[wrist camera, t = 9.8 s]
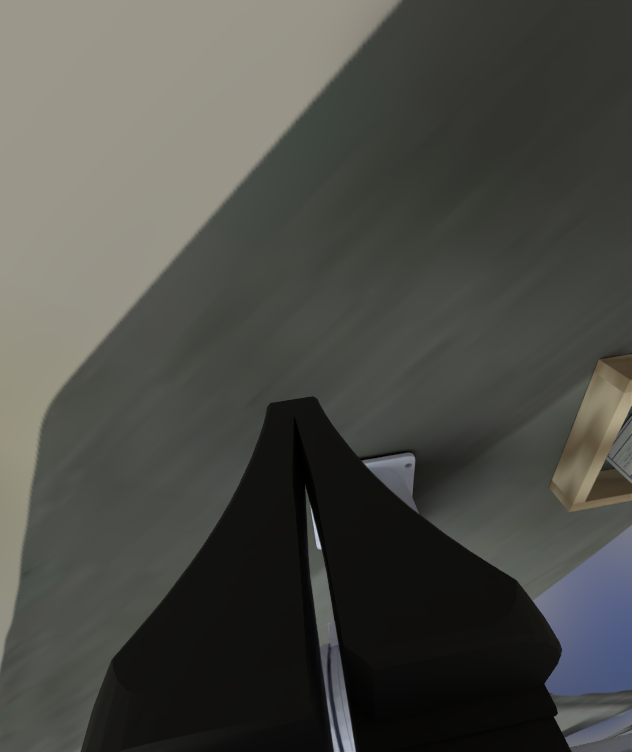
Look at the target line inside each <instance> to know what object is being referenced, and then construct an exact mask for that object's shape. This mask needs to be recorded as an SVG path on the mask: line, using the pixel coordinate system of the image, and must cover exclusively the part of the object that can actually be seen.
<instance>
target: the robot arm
mask: <svg viewBox="0 0 632 752" xmlns="http://www.w3.org/2000/svg"><path fill="white" fill-rule="evenodd" d="M408 463H409V464H408ZM414 470H415V457H414V455H413V454H412V453H403V454H397V455H391V456H385V457H380V458H374V459H368V460H362V461H361V460H360V459H359V457H358V456H357V455H356V454H355V453H354V452H353V451H352V449H351V448H350V447H349V446H348V445H347V443H346V442H345V441H344V439H343V438H342V437H341V436H340V434H339V433H338V432H337V430H336V429H335V428H334V426H333V425H332V423H331V422H330V420H329V419H328V417H327V416H326V414H325V413H324V411H323V409H322V408H321V406H320V404H319V402H318V399H317V398H315V397H314V396H312V397H306V398H300V399H293V400H287V401H281V402H274V403H270V404H269V406H268V407H267V412H266V416H265V420H264V424H263V427H262V430H261V433H260V436H259V439H258V442H257V444H256V447H255V450H254V452H253V455H252V457H251V460H250V462H249V464H248V466H247V469H246V471H245V473H244V475H243V477H242V479H241V481H240V484H239V486H238V488H237V490H236V491H235V493H234V495H233V497H232V499H231V501H230V503H229V505H228V506H227V508H226V510H225V511H224V513H223V515H222V517H221V518H220V520H219V522H218V523H217V525H216V526H215V528H214V529H213V531H212V533H211V534H210V536H209V537H208V539H207V540H206V542H205V543H204V545H203V546H202V548H201V549H200V551H199V552H198V554H197V555H196V557H195V558H194V559H193V561H192V562H191V563H190V565H189V566H188V567H187V569H186V570H185V571H184V573H183V574H182V575H181V577H180V578H179V579H178V581H177V582H176V583H175V585H174V586H173V587H172V589H171V590H170V591H169V593H168V594H167V595H166V597H165V598H164V599H163V600H162V602H161V603H160V604H159V605H158V606H157V608H156V609H155V610H154V611H153V612H152V614H151V615H150V616H149V617H148V618H147V619H146V621H145V622H144V623H143V624H142V625H141V626H140V628H139V629H138V630H137V631H136V632H135V633H134V635H133V636H132V637H131V638H130V639H129V640H128V642H127V643H126V644H125V645H124V646H123V647H122V648H121V650H120V651H119V652H118V653H117V654H116V655H115V656H114V658H113V659H112V660H111V663H110V665H109V668H108V670H107V673H106V675H105V678H104V681H103V683H102V686H101V688H100V691H99V694H98V696H97V699H96V702H95V704H94V707H93V710H92V713H91V717H90V721H89V724H88V728H87V731H86V735H85V739H84V742H83V746H82V749H81V752H632V733H631V734H627V735H622V736H618V737H613V738H609V739H605V740H601V741H596V742H592V743H587V744H583V745H579V746H574V747H570V748H569V746H568V744H567V742H566V740H565V738H564V736H563V734H562V732H561V730H560V728H559V726H558V724H557V722H556V720H555V718H554V716H556V715H557V714H558V712H557V708H556V706H555V704H554V702H553V700H552V698H551V696H550V694H549V692H548V690H547V689H546V687H545V685H544V683H545V682H546V680H547V679H548V677H549V676H550V674H551V673H552V671H553V670H554V669H555V667H556V666H557V664H558V661H559V659H560V656H561V652H562V648H561V645H560V643H559V641H558V639H557V637H556V636H555V634H554V632H553V630H552V629H551V627H550V625H549V624H548V622H547V621H546V619H545V617H544V616H543V615H542V613H541V612H540V611H539V609H538V608H537V607H536V605H535V604H534V602H533V601H532V600H531V598H530V597H529V596H528V594H527V593H526V592H525V590H524V589H523V588H522V587H521V585H520V584H519V583H518V581H517V580H515V579H514V578H512V577H510V576H509V575H507V574H505V573H504V572H502V571H501V570H499V569H497V568H496V567H494V566H492V565H491V564H489V563H488V562H486V561H485V560H483V559H481V558H480V557H478V556H477V555H475V554H474V553H472V552H471V551H469V550H468V549H466V548H465V547H463V546H462V545H460V544H459V543H458V542H456V541H455V540H453V539H452V538H450V537H449V536H447V535H446V534H445V533H443V532H442V531H441V530H439V529H438V528H437V527H435V526H434V525H433V524H431V523H430V522H429V521H428V520H426V519H425V518H424V517H422V516H421V515H420V514H419V512H418V510H417V507H416V505H415V503H414V500H413V498H412V494H413V482H414ZM305 485H306V489H307V493H308V497H309V501H310V506H311V513H312V519H313V525H314V532H315V538H316V544H317V548H319V549H322V553H323V557H324V562H325V567H326V572H327V578H328V584H329V590H330V596H331V602H332V608H333V615H334V620H333V621H330V622H328V623H327V626H328V632H329V639H330V643H327V644H323V645H322V646H321V647H320V646H319V639H318V631H317V624H316V616H315V609H314V601H313V594H312V586H311V579H310V569H309V557H308V536H307V514H306V493H305Z"/></svg>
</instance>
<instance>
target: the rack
mask: <svg viewBox="0 0 632 752" xmlns="http://www.w3.org/2000/svg"><path fill="white" fill-rule="evenodd" d="M631 406H632V354H629V355H623V356H617V357H610V358H604V359H599V360H598V363H597V365H596V368H595V371H594V373H593V376H592V378H591V381H590V383H589V386H588V389H587V391H586V394H585V396H584V399H583V401H582V404H581V407H580V409H579V412H578V414H577V417H576V419H575V422H574V425H573V427H572V430H571V432H570V435H569V437H568V440H567V443H566V445H565V448H564V450H563V453H562V455H561V458H560V461H559V463H558V466H557V468H556V471H555V473H554V476H553V478H552V481H551V484H550V486H549V488H550V490H551V491H552V492H553V493H554V494H555V496H556V497H557V498H558V499H559V500H560V502H561V503H562V504H563V505H564V506H565V508H566V509H567V510H568V511H569V512H573V511H578V510H583V509H589V508H594V507H600V506H605V505H610V504H616V503H621V502H626V501H632V483H631V482H630V481H629V480H628V479H626V478H625V477H624V476H623V475H622V474H621V473H620V472H619V471H618V470H617V469H616V468H615V469H609V470H604V471H600V470H601V468H602V466H603V464H604V461H605V459H606V457H607V455H608V453H609V451H610V449H611V447H612V445H613V443H614V441H615V439H616V437H617V435H618V433H619V431H620V429H621V426H622V424H623V422H624V420H625V418H626V416H627V414H628V412H629V410H630V408H631Z"/></svg>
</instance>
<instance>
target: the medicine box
mask: <svg viewBox="0 0 632 752" xmlns="http://www.w3.org/2000/svg"><path fill="white" fill-rule="evenodd" d="M606 460H607V461H608V462H609V463H610V464H611V465H612V466H613V467H615V468H616V469H617V470H618V471H619V472H620V473H621V474H622V475H623V476H624V477H625V478H626V479H628V480H629V481H630V482H631V483H632V415H631V417H630V418H629V419H628V421H627V422H626V423H625V425H624V426H623V427H622V429H621V430H620V431H619V433H618V435H617V437H616V439H615V441H614V443H613V445H612V447H611V449H610V451H609V453H608V455H607V457H606Z"/></svg>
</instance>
